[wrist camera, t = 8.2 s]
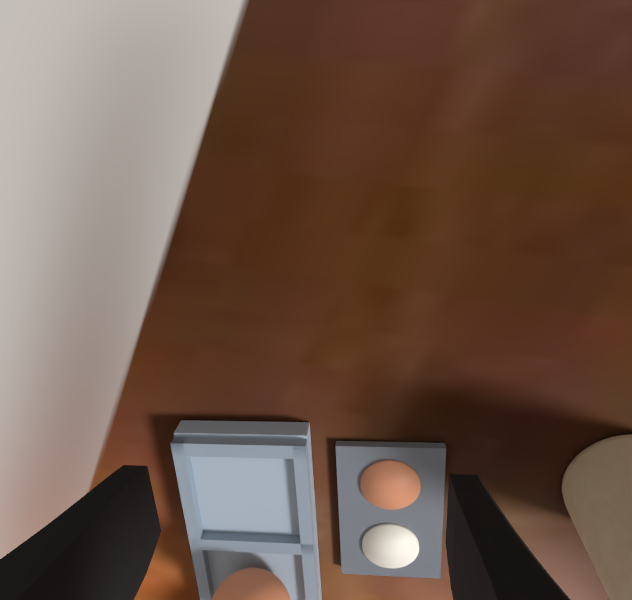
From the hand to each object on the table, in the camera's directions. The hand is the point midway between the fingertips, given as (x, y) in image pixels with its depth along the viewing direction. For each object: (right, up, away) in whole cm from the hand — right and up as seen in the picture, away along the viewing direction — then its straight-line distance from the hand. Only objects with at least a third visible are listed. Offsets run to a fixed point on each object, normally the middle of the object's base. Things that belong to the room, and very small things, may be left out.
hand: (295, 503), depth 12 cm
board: (-2, -10, +16) cm, 19 cm away
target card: (+4, -5, +13) cm, 15 cm away
